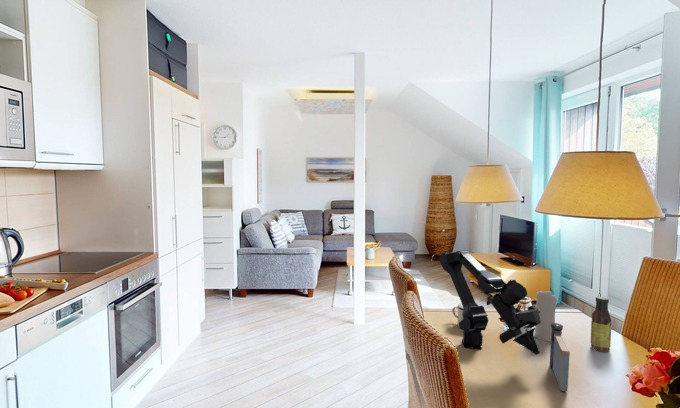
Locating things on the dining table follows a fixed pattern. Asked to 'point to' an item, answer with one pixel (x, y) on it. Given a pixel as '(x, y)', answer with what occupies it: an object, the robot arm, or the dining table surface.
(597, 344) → the sauce bottle
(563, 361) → the gate
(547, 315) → the notched grey upright panel
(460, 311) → the teacup with lid
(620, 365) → the dining table surface
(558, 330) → the hinge post
